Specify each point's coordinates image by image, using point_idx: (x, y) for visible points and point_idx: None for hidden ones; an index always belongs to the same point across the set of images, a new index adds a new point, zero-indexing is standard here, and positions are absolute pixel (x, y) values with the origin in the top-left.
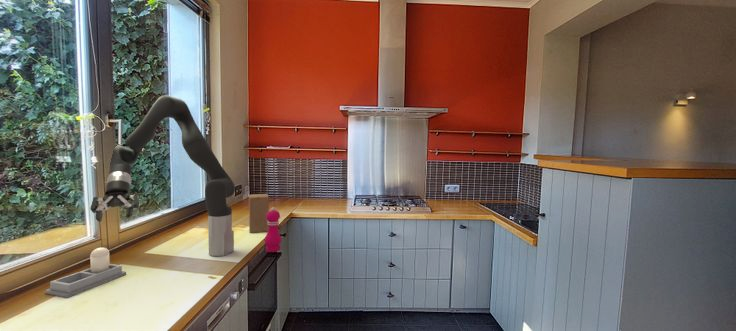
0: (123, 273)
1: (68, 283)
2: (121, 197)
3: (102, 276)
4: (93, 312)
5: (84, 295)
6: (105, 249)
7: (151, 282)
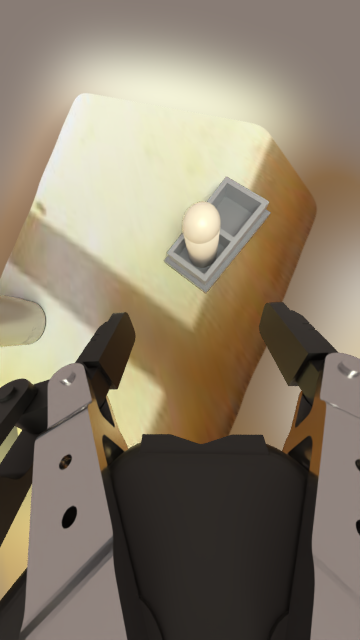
0: (167, 257)
1: (229, 184)
2: (48, 635)
3: None
4: (167, 135)
5: (200, 191)
6: (186, 214)
7: (118, 214)
